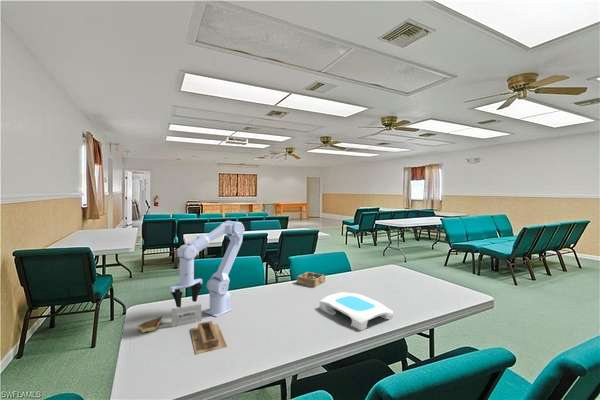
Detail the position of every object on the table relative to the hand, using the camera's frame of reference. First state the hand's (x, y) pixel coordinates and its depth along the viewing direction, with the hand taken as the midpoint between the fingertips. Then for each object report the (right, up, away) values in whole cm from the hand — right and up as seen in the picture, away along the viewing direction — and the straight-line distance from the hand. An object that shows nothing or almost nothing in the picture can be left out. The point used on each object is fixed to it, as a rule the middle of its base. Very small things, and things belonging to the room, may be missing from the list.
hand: (186, 303), depth 121 cm
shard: (-16, -10, 0) cm, 18 cm away
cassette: (0, -9, 0) cm, 9 cm away
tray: (+13, -9, -12) cm, 20 cm away
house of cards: (+58, -8, +58) cm, 82 cm away
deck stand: (+56, -8, +55) cm, 79 cm away
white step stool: (+75, -10, +10) cm, 76 cm away
